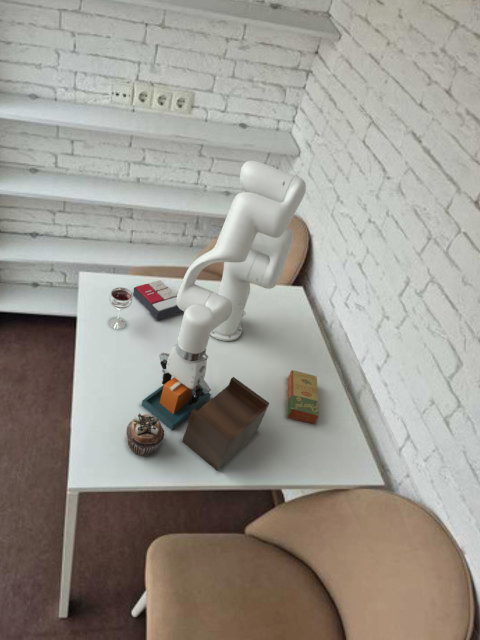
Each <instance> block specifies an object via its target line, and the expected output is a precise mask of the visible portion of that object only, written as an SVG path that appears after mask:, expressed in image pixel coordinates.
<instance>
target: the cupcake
mask: <svg viewBox="0 0 480 640" xmlns="http://www.w3.org/2000/svg"><path fill="white" fill-rule="evenodd" d="M127 424H128V425H127V426H126V432H125V433H126V438H127V444H128V447H129V449H130V451H131V452H132V454H134V455H137V456H139V457H149V456H150V457H151V456H152V455H153V454H155V453H156V451H157V450H158V449H159V447H160V445H161V444H162V443H163V440H164V439H165V430H164V427H163V425H162V422H161V421H160V420H159V419H157V418H156V417H155V416H154V415H153V414H150V413H146V414H141V413H135V415H134V417H133V419H132V420H131V421H130V422H129V423H127Z"/></svg>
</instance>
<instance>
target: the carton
mask: <svg viewBox="0 0 480 640" xmlns="http://www.w3.org/2000/svg"><path fill="white" fill-rule="evenodd" d="M286 390H287V393H286V394H287V396H286V398H287V400H286V418H288V419H292V420H295V421H300V422H304V423H307V424H313V425H315V423H316V422H317V420H318V419H319V416H320V413H319V398H318V397H319V396H318V395H319V394H318V377H317V375H313V374H310V373H305V372H301V371H298V370H293V369H291V370H290V372H289V375H288V376H287V389H286Z"/></svg>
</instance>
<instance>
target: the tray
mask: <svg viewBox="0 0 480 640" xmlns="http://www.w3.org/2000/svg"><path fill="white" fill-rule="evenodd" d="M163 387H164V385H163V384H162V385H161V386H160V387H159V388H158V389H156V390H155V391H152V393H150V394H148V395H147V396H146V397H145V398H144V399H142V401H141V406H142V407H143V408H144V409H145V410H146V411H148V412H149V414H150V415H153V416H155V417H156V418H157V419H158V420H159V421H160V423H161V424H163V425H165V426H166V427H167V428H168V429H170V431H172V430H174V429H176V427H177V426H179V425H180V424H182V422H184V421H185V420H186V419H187V418H188V417H190V415H191V411H192V410H194V409H195V410H196V411H198V410H199V409H200V408H201V407H202V406H204V405H205V404H206V403H207V402H208V400H209V401H210V400H211V396H212V393H210V391H209V392H208V393H207V394H205V395H203V396H199V399H198V401H197V402H196V403H193V404H192V405H189V404H188V403H189V402H188V403H187V404H186V405H184V406H183V407H182V408H181V409H179V410H178V411H177V412H176V413H174V414H172V413H171V412H170V411H169V410H167V409H166V408H165V407H164V406H163V405H161V404H160V399H161V395H162V391H163ZM201 388H202V387H201ZM195 390H197V387H196V389H195Z"/></svg>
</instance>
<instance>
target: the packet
mask: <svg viewBox="0 0 480 640" xmlns="http://www.w3.org/2000/svg"><path fill="white" fill-rule="evenodd" d="M195 389H196V387H195ZM191 394H192V392H191V389H190V388H188V387H186V386H185V385H184V384H182V383H181V382H180V381H178V380H177V379H176V378H175V377H171V380H170V381H168V382H167V383H166V384H164V387H163V391H162V395H161V399H160V404H161V405H163V406H164V407H165V408H166V409H167V410H169V411H170V412H171V413H172V414H174V413H176V412H177V411H178V410H179V409H181V408H182V407H183V406H184V405H186V404H187V403H188V402H189V399H190V396H191Z"/></svg>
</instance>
